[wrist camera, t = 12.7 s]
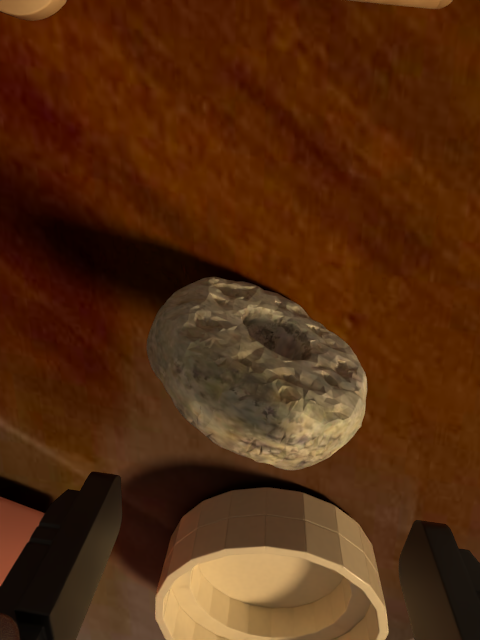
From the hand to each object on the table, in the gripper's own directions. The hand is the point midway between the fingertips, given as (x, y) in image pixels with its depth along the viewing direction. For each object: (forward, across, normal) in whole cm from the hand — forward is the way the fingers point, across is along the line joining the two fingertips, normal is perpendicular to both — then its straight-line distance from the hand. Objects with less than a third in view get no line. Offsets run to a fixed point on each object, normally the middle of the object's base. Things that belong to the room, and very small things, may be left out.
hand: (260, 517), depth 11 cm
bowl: (+13, -2, +20) cm, 24 cm away
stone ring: (+13, 0, 0) cm, 13 cm away
